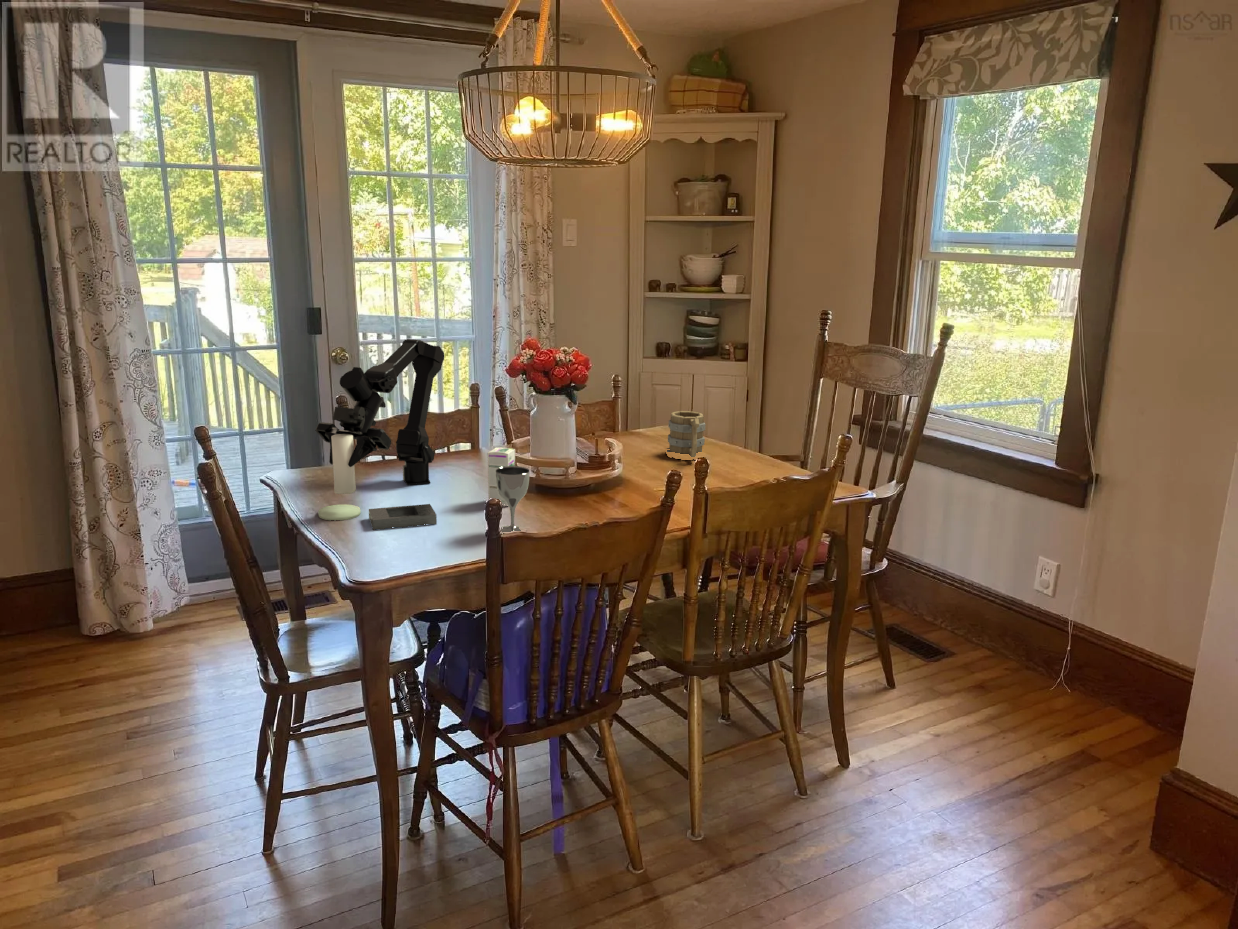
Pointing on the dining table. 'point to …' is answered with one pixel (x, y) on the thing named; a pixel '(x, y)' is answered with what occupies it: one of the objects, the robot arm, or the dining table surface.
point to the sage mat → (339, 512)
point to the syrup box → (495, 461)
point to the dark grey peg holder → (402, 516)
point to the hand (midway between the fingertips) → (340, 464)
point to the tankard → (686, 432)
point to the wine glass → (512, 489)
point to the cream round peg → (343, 464)
